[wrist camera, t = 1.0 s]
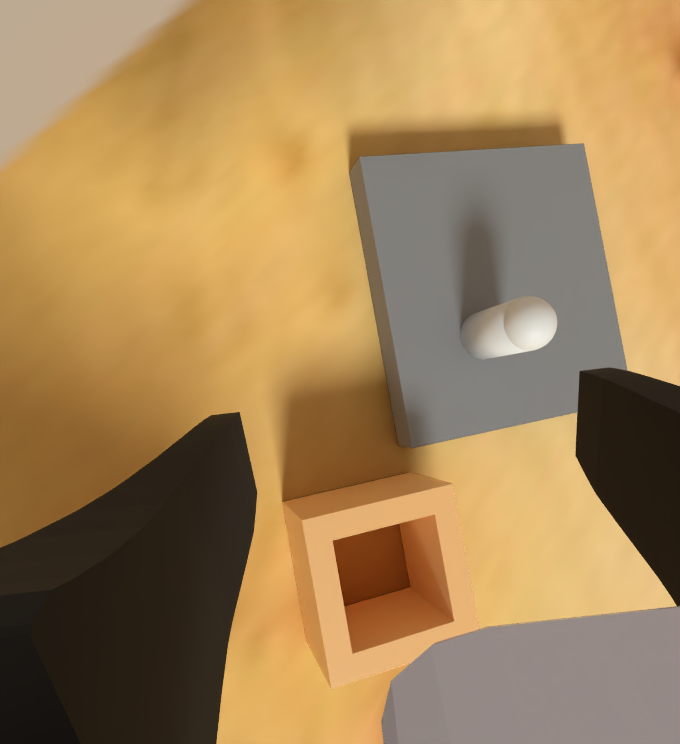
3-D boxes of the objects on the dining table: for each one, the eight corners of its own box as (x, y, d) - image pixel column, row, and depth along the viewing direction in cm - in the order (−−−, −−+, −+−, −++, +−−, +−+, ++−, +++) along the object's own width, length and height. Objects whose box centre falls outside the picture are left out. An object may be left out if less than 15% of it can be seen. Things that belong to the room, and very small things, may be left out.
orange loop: (433, 602, 24) (481, 639, 20) (306, 641, 22) (331, 689, 18) (410, 472, 24) (452, 483, 20) (282, 501, 22) (301, 520, 18)
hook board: (608, 400, 27) (720, 397, 21) (398, 445, 24) (463, 456, 18) (562, 158, 27) (660, 91, 21) (349, 172, 24) (397, 98, 18)
